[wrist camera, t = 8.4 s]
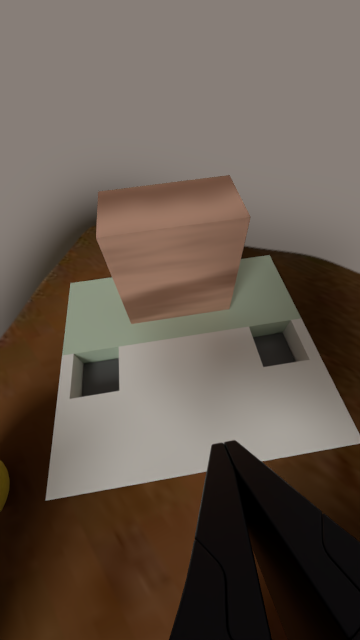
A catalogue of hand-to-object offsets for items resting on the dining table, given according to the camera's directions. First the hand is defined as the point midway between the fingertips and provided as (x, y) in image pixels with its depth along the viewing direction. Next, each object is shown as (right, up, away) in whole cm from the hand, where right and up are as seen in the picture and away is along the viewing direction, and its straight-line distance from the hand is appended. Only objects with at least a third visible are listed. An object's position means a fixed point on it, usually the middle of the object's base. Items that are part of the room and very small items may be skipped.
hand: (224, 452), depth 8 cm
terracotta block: (-2, +7, +16) cm, 18 cm away
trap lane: (-1, +1, +15) cm, 15 cm away
